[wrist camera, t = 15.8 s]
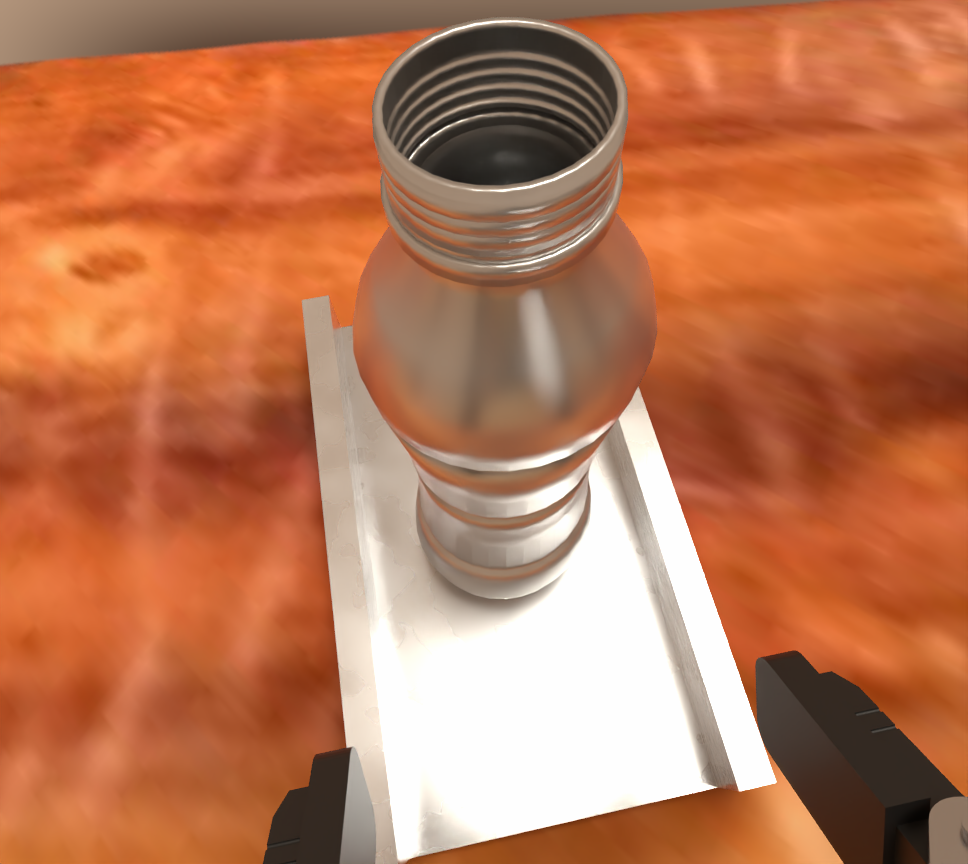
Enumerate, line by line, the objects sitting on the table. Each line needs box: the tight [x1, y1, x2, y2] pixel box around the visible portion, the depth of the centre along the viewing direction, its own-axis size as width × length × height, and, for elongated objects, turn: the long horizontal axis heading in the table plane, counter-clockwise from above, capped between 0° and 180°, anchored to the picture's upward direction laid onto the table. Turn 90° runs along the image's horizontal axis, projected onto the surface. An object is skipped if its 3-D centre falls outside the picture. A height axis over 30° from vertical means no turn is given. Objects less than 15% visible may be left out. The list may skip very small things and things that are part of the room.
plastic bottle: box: [352, 17, 657, 599], centre depth 18 cm, size 6×7×20 cm
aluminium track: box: [302, 295, 776, 864], centre depth 27 cm, size 22×13×4 cm, turn 11°
